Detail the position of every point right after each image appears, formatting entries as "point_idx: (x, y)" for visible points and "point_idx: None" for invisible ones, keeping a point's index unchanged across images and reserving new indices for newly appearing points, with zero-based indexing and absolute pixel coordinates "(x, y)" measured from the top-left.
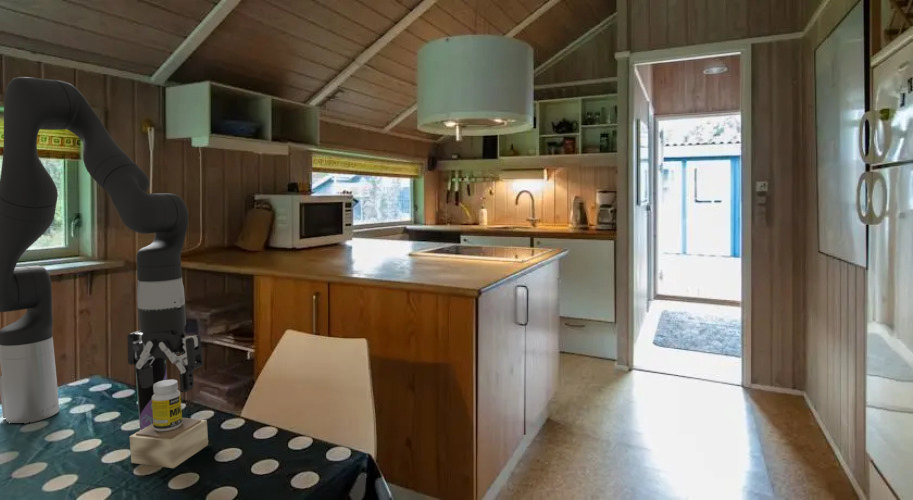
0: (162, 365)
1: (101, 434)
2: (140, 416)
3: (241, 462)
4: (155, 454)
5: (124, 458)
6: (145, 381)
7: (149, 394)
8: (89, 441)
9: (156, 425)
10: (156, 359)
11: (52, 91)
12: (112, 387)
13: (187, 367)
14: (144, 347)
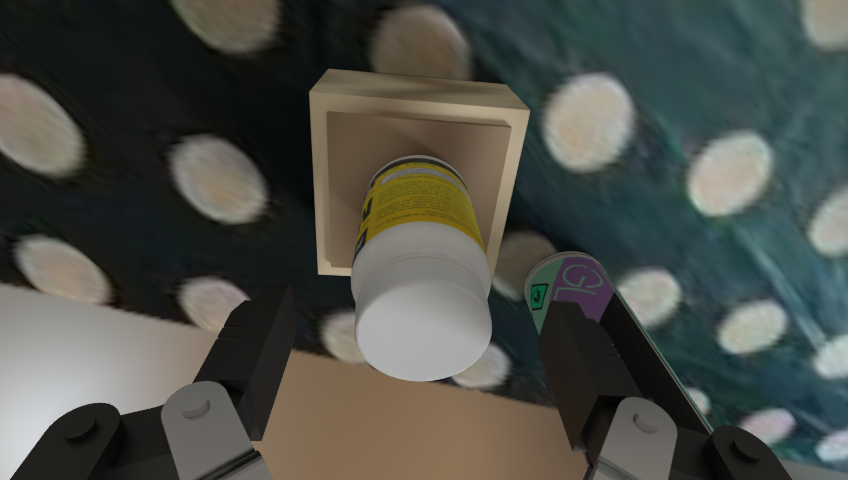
0: None
1: (716, 238)
2: (611, 290)
3: (130, 139)
4: (401, 85)
5: (550, 110)
6: (563, 333)
7: None
8: (733, 195)
9: (430, 164)
10: None
11: None
12: (812, 447)
13: (159, 435)
14: None
